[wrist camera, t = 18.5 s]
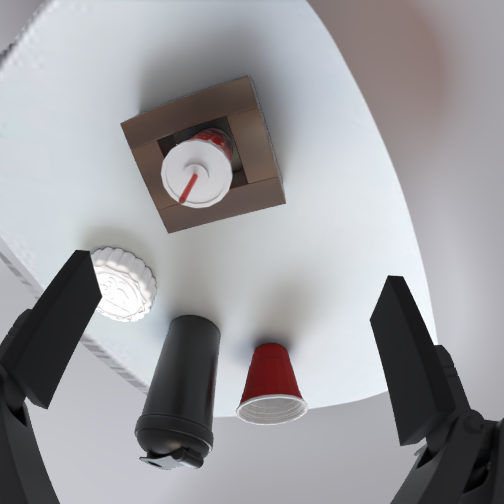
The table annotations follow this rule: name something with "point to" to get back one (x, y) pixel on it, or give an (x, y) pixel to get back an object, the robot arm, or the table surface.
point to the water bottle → (181, 396)
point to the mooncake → (123, 285)
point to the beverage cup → (199, 169)
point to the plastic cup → (271, 389)
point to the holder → (246, 139)
